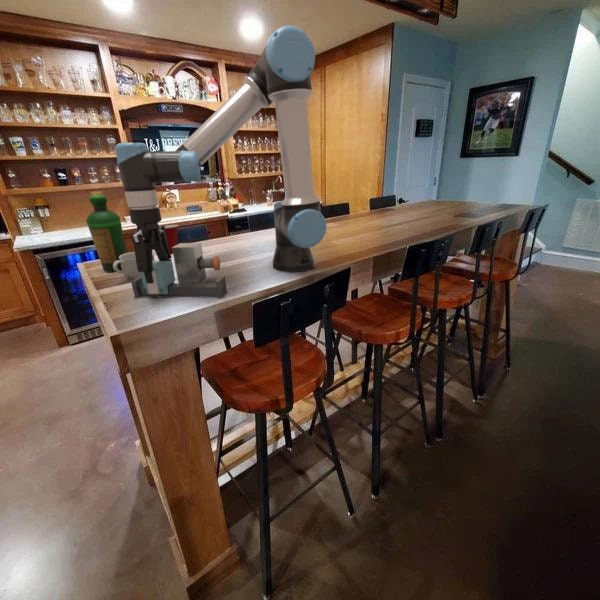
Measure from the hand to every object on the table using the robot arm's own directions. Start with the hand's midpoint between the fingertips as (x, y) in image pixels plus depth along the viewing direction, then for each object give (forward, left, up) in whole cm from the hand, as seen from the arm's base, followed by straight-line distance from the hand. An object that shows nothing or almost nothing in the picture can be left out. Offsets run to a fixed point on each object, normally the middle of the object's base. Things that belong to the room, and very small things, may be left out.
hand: (161, 288), depth 94 cm
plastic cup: (+22, -51, -2) cm, 55 cm away
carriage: (0, 0, -1) cm, 1 cm away
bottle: (+31, -26, -2) cm, 40 cm away
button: (-11, -12, +2) cm, 16 cm away
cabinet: (-5, -12, -2) cm, 13 cm away
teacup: (+17, -16, -2) cm, 23 cm away
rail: (-6, 0, -2) cm, 6 cm away
